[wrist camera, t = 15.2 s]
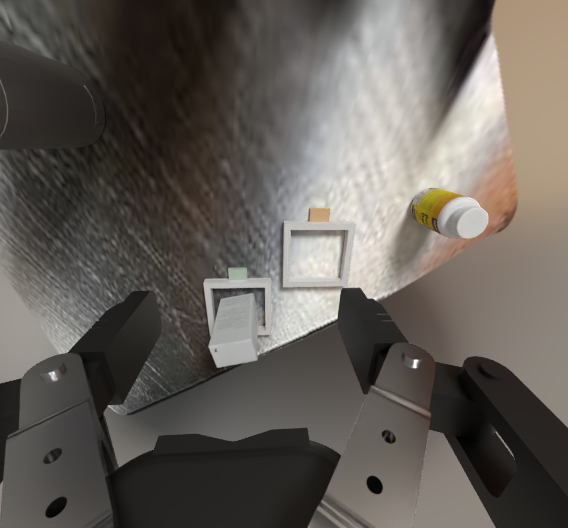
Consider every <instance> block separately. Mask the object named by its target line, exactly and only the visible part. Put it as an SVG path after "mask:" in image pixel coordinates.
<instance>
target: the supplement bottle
mask: <svg viewBox="0 0 568 528" xmlns="http://www.w3.org/2000/svg"><path fill="white" fill-rule="evenodd" d="M411 214H412V217H413V218H414V219H415V220H416V221H417V222H419V223H421V224H423V225H425V226H426V227H428V228H430V229H432V230H434V231H436V232H438V233H439V234H441V235H443V236H445V237H448V238H464V239H470V238H474V237H476V236H478V235H479V234H481V233H482V232H483V231H484V229H485V228H486V226H487V224H488V214H487V212H486V211H485V210H484V209H482V208H481V207H480V205H479V203H478V202H477V201H476V200H474V199H472V198H470V197H466V196H463V195H459V194H455V193H452V192H448V191H444V190H441V189H437V188H428V189H425V190H423V191H421V192H420V193H419V194H418V195H417V196H416V197H415V198H414V200H413V202H412V204H411Z"/></svg>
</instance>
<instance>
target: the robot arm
mask: <svg viewBox="0 0 568 528" xmlns="http://www.w3.org/2000/svg"><path fill="white" fill-rule="evenodd" d="M104 126H105V111H104V106H103V103H102V100H101V98H100V96H99V94H98V92H97V90H96V89H95V88H94V86H93V85H92V84H91V82H90V81H89V80H88V79H87V78H86V77H85V76H84V75H82V74H81V73H80V72H78V71H77V70H75V69H74V68H72V67H70V66H67V65H65V64H63V63H60V62H58V61H55V60H52V59H50V58H47V57H45V56H42V55H40V54H37V53H35V52H32V51H30V50H27V49H25V48H22V47H19V46H17V45H14V44H12V43H9V42H6V41H4V40H1V39H0V150H14V149H48V148H81V147H86V146H89V145H91V144H93V143H95V142H96V141H97V140H98V139H99V138H100V136H101V134H102V133H103V130H104ZM161 328H162V322H161V317H160V312H159V308H158V303H157V298H156V295H155V293H154V291H133V292H132V293H131V294H130V295H129V296H128V297H127V298H126V299H125V300H124V302H123V303H119V304H117V305H115V306H114V307H112V308H110V309H109V310H107V311H106V312H105V313H104V314H103V315H102V316H101V317H100V319H99V321H97V322H96V323H95V324H94V325H93V326H92V329H89V330H88V331H87V332H86V334H85V335H84V336H83V337H82V338H81V339H80V340H79V341H78V342H77V343H76V344H75V345H74V346H73V347H72V348H71V350H70V351H69V352H68V353H65V354H59V355H56V356H53V357H50V358H47V359H45V360H43V361H41V362H40V363H38V364H36V365H35V366H33V367H32V368H31V369H30V370H28V371H27V373H26V374H25V375H24V376H23V378H21V379H17V380H13V381H9V382H5V383H1V384H0V483H1V482H2V481H3V489H2V502H1V503H2V504H1V514H0V515H1V516H0V528H413V527H414V520H415V514H416V508H417V501H418V495H419V489H420V483H421V476H422V470H423V463H424V457H425V450H426V445H427V438H428V432H429V430H433V431H437V432H441V433H444V435H445V437H446V438H447V440H448V442H449V444H450V446H451V448H452V449H453V451H454V453H455V455H456V456H457V458H458V460H459V462H460V464H461V466H462V467H463V469H464V471H465V473H466V475H467V476H468V478H469V480H470V482H471V484H472V486H473V487H474V489H475V491H476V492H477V494H478V496H479V498H480V500H481V502H482V503H483V505H484V507H485V508H486V511H487V512H488V514H489V516H490V518H491V520H492V522H493V523H494V525H495V527H496V528H568V428H567V427H566V426H565V425H564V424H563V423H562V422H561V421H560V420H559V419H558V418H557V417H556V416H555V415H554V414H553V413H552V412H551V411H550V410H549V409H548V408H547V407H546V406H545V405H544V404H543V403H542V402H541V401H540V400H539V399H538V398H537V397H536V396H535V395H534V394H533V393H532V392H531V391H530V390H529V389H528V388H527V387H526V386H525V385H524V384H523V383H522V382H521V381H520V380H519V379H518V378H517V377H516V376H515V375H514V374H513V373H512V372H511V371H510V370H509V369H507V368H506V367H505V366H503V365H501V364H499V363H498V362H495V361H493V360H490V359H488V358H483V357H477V356H474V357H469V358H467V359H466V360H465V361H464V363H463V366H462V367H458V366H453V365H448V364H443V363H439V362H435V360H434V358H433V356H432V355H431V354H430V353H429V352H427V351H426V350H425V349H423V348H421V347H419V346H417V345H414V344H411V343H409V342H408V341H407V340H406V338H405V337H404V335H403V334H402V333H401V331H400V330H399V329H398V327H397V326H396V324H395V323H394V321H392V319H391V317H390V316H389V315H388V314H387V312H386V310H385V309H384V308H383V306H382V305H381V304H379V303H378V302H376V301H375V300H374V299H367V297H366V296H365V294H364V293H363V291H362V290H361V288H342V290H341V295H340V303H339V311H338V329H339V332H340V335H341V337H342V340H343V343H344V345H345V347H346V350H347V352H348V355H349V358H350V360H351V363H352V365H353V368H354V371H355V373H356V376H357V378H358V380H359V383H360V386H361V388H362V391H363V393H364V394H367V397H366V399H365V401H364V404H363V406H362V408H361V411H360V413H359V415H358V418H357V420H356V422H355V425H354V427H353V430H352V432H351V434H350V436H349V439H348V441H347V443H346V446H345V448H344V450H343V453H342V455H340V454H339V453H337V452H335V451H334V450H333V449H330V448H329V447H327V446H325V445H323V444H320V443H317V442H314V441H310V440H309V436H308V429H307V428H296V429H276V430H269V431H266V432H263V433H260V434H257V435H254V436H251V437H248V438H245V439H242V440H238V441H233V442H232V441H226V440H222V439H217V438H213V437H208V436H204V435H200V434H183V435H164V436H159V437H158V440H157V442H156V445H155V448H154V450H152V451H149V452H147V453H144V454H142V455H140V456H138V457H136V458H134V459H132V460H130V461H129V462H127V463H126V464H124V465H123V466H121V467H119V466H118V463H117V459H116V456H115V452H114V448H113V445H112V441H111V437H110V434H109V430H108V426H107V422H106V419H105V416H104V411H105V409H106V408H107V406H108V405H121V404H123V403H124V401H125V399H126V397H127V395H128V393H129V392H130V390H131V388H132V386H133V384H134V382H135V380H136V379H137V377H138V375H139V373H140V371H141V369H142V368H143V366H144V364H145V362H146V360H147V358H148V356H149V355H150V353H151V351H152V349H153V347H154V345H155V344H156V342H157V340H158V338H159V336H160V333H161ZM496 431H497V432H498V434H499V435H500V436H501V437H502V439H503V440H504V442H505V443H506V444H507V446H508V447H509V448H510V450H511V451H512V453H513V455H514V457H513V456H512V455H511V454H510V452H509V451H508V449H507V448H506V447H505V445H504V444H503V443H502V441H501V440H500V438H499V437H498V436H497V434H496V433H495V432H496ZM514 458H515V459H514Z"/></svg>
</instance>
